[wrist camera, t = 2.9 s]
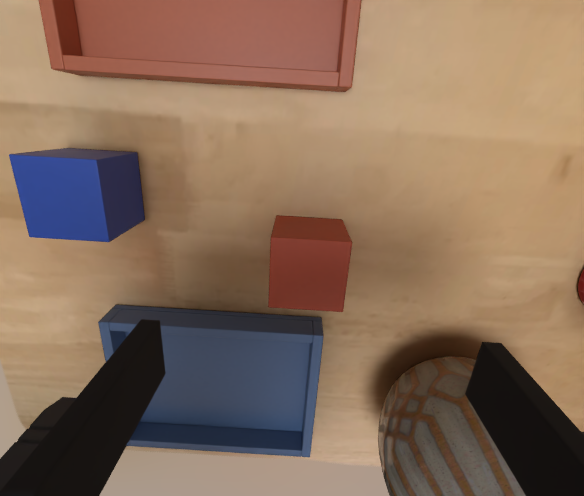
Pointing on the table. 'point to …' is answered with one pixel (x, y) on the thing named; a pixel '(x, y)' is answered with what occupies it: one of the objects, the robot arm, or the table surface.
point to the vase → (439, 436)
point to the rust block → (309, 263)
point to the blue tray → (227, 379)
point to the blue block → (79, 193)
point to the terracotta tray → (207, 40)
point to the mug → (581, 287)
